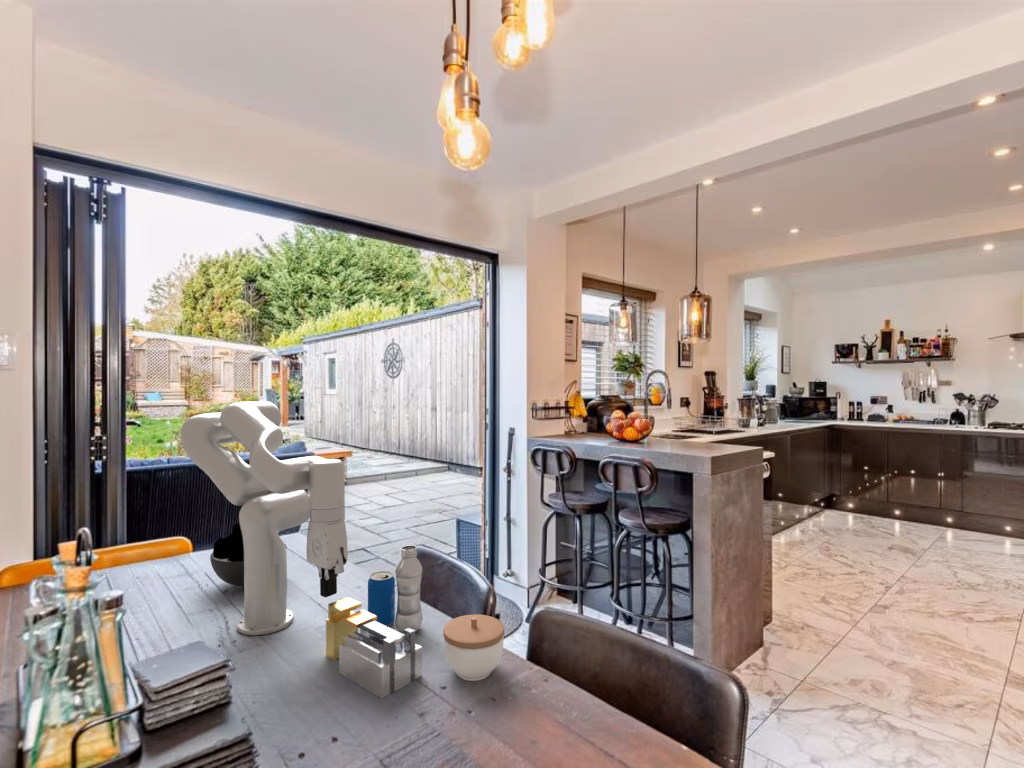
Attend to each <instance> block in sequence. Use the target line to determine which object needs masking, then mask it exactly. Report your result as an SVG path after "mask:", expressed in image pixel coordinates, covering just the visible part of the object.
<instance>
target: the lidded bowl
mask: <svg viewBox="0 0 1024 768" xmlns="http://www.w3.org/2000/svg"><path fill="white" fill-rule="evenodd" d="M442 630H443V631H442V632H443V633H442V634H443V646H444V647H443V648H444V654H445V659H446V661H447V664H448V665H449V667H450V668H451V670H452V671H453V672H454V673H456V675H457V677H458V678H460V679H462V680H464V681H467V682H478V681H482V680H484V679H486V678H488V677H490V675H491V673H492V672H493V671H494V670H495V669H496V668H497V666H498V664H499V663H500V661H501V658H502V654H503V649H504V641H505V640H504V637H505V636H504V635H505V626H504V624H503V622H501V620H499V619H498V618H495V617H493V616H490V615H486V614H478V613H477V614H466V615H460V616H458V617H457V616H456V617H454V618H453V619H451V620H449V621H448V622H446V624H445V625H444V627H443V629H442Z"/></svg>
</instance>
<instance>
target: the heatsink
mask: <svg viewBox="0 0 1024 768" xmlns="http://www.w3.org/2000/svg"><path fill="white" fill-rule="evenodd" d="M403 634H404V635H405V634H407V636H408V639H407V640H405V641H403V642H400V643H398V644H396V645H395V640H393V639H390V638H386V639H383V640H382V639H380V638H378V637H376V636H374V635H372V634H370V633H368V632H366V631H364V630H362V629H360V628H359V631H358V632H356V631H354V632H353V637H352V636H350V635H345V642H343V643H340V644H339V659H338V665H339V666H338V668H339V669H338V673H339V674H340V675H342V676H343V677H345V678H347V679H348V680H350V681H352V682H353V683H354V684H357V685H358V686H360V687H362V688H363V689H365V690H366V691H368V692H369V693H372V694H373V695H374V696H376V697H377V698H379V699H381V700H383V699H385V698H386V697H388V696H390V695H391V694H393V693H395V692H397V691H398V690H400V689H402V688H404V687H405V686H407V685H409V684H410V683H412V682H414V681H415V680H418V679H419V678H421V677H422V676H423V646H421V645H420V644H417V643H416V632H415V630H413V629H411V628H407V629H405V630H404V633H403Z"/></svg>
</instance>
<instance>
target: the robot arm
mask: <svg viewBox="0 0 1024 768" xmlns="http://www.w3.org/2000/svg"><path fill="white" fill-rule="evenodd" d="M281 413H282V412H281V411H280V409H279V407H278V406H277V405H275V404H274V403H273V402H271V401H267V400H258V401H257V400H254V401H238V402H237V401H236V402H233V403H230V404H228V405H227V406H225V407H224V408H223V409H222V410H221V412H220V411H219V412H207V413H206V412H205V413H201V414H197V415H194V416H191V417H189V418H187V419H186V420H185V421H184V422H183V423H182V426H181V428H180V441H181V444H182V447H183V450H184V451H185V454H186V455H187V457H188V458H189V460H190V461H192V463H193V464H194V465H196V466H197V467H198V468H199V469H200V470H202V471H203V473H205V474H206V475H207V476H208V478H210V480H211V481H212V483H214V485H215V486H216V488H217V489H218V490H219V491H220V492H221V493H222V495H223V496H224V497H225V498H226V499H227V500H228V502H230V503H231V504H232V505H234V506H241V508H240V510H239V515H238V518H239V519H238V520H239V523H240V526H241V531H242V536H243V544H244V587H243V604H242V607H243V616H242V617H241V618H240V619H239V620H238V621H237V623H236V630H237V632H239V633H240V634H243V635H247V636H260V635H267V634H272V633H275V632H278V631H281V630H283V629H285V628H287V627H288V626H289V625H291V623H292V622H293V621H294V613H293V611H292V610H290V609H287V607H288V605H287V604H288V603H287V602H288V600H287V599H288V598H287V597H288V595H287V594H288V583H287V582H288V581H287V580H288V577H287V576H288V570H287V566H288V564H287V562H288V559H287V558H288V555H287V553H288V552H287V549H286V546H287V545H286V546H285V544H286V543H285V544H284V541H283V540H282V538H281V537H280V535H279V533H280V532H282V531H284V530H288V529H291V528H294V527H298V526H300V525H303V524H305V523H306V522H307V521H308V520H309V521H308V527H307V533H306V534H307V536H306V561H307V563H310V564H312V565H313V566H315V567H317V570H318V577H319V582H320V583H319V587H320V590H319V591H320V596H321V597H323V598H328V597H331V596H334V595H336V594H337V592H338V580H337V579H338V578H337V577H339V574H342V573H344V572H345V568H344V565H346V564H348V563H347V562H348V555H349V551H348V549H349V547H348V536H347V528H346V522H345V521H346V512H345V511H346V506H345V505H346V504H345V503H346V502H345V500H346V495H345V464H344V462H343V461H342V460H341V459H337V458H324V457H321V456H318V455H309V456H300V457H295V458H288V459H282V460H280V459H278V458H277V457H276V456H275V455H273V454H274V453H275V452H276V451H277V450H278V449H280V447H281V445H282V443H283V440H284V434H283V431H282V429H281V428H280V425H281V423H282V415H281ZM232 443H240V445H242V446H243V447H244V448H245V449H246V450H248V452H249V456H248V461H249V464H248V463H247V462H245V460H244V459H243V458H242V457H241V456H240V455H239V454H238V453H237V452H235V451H234V450H232V449H231V448H228V447H226V446H223V444H224V445H226V444H232ZM308 489H309V493H307V491H306V490H308Z"/></svg>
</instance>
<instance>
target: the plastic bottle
mask: <svg viewBox="0 0 1024 768" xmlns="http://www.w3.org/2000/svg"><path fill="white" fill-rule="evenodd" d="M417 548H418V546H416V545H411V544H410V545H404V546H402V547H401V553H400V557H401V559H400V560H399V562H398V563H397V565H396V567H395V571H394V572H395V582H396V588H397V589H396V591H397V605H396V611H395V620H394V623H395V628H396V630H397V631H398V632H400V633H402V634H404V630H405V629H407V628H411V629H413V630H415V633H416V632H418V631H420V628H421V627H422V626H423V619H424V617H423V611H422V604H421V603H422V602H421V584H422V576H423V566H422V564H421V562H420V560H419V559H418V558H417V556H418V552H417V550H418V549H417Z"/></svg>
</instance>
